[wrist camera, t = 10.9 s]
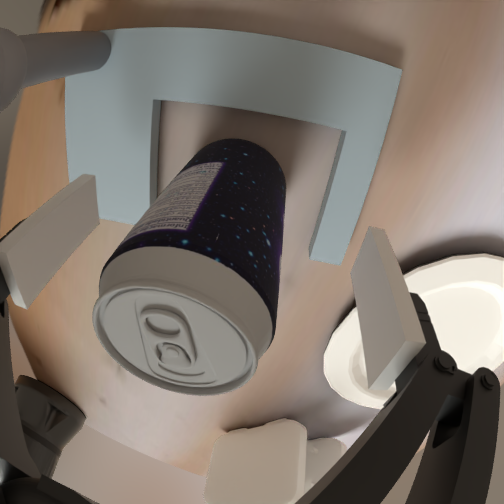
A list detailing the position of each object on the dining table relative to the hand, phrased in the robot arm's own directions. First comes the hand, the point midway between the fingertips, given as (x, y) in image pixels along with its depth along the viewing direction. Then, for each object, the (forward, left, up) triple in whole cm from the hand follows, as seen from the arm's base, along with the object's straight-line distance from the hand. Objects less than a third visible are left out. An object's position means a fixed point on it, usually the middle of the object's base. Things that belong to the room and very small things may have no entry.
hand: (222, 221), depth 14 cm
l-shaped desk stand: (-2, +2, -5) cm, 6 cm away
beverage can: (0, 0, -5) cm, 5 cm away
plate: (+19, -10, -5) cm, 22 cm away
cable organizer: (+10, -34, -5) cm, 35 cm away
